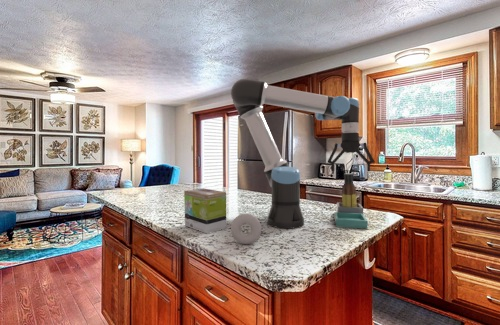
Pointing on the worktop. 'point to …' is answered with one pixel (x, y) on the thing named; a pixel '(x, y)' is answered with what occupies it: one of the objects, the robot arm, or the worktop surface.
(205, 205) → the tea box
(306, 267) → the worktop surface
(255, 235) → the donut
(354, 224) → the tray
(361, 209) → the bottle holder
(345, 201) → the sauce bottle
